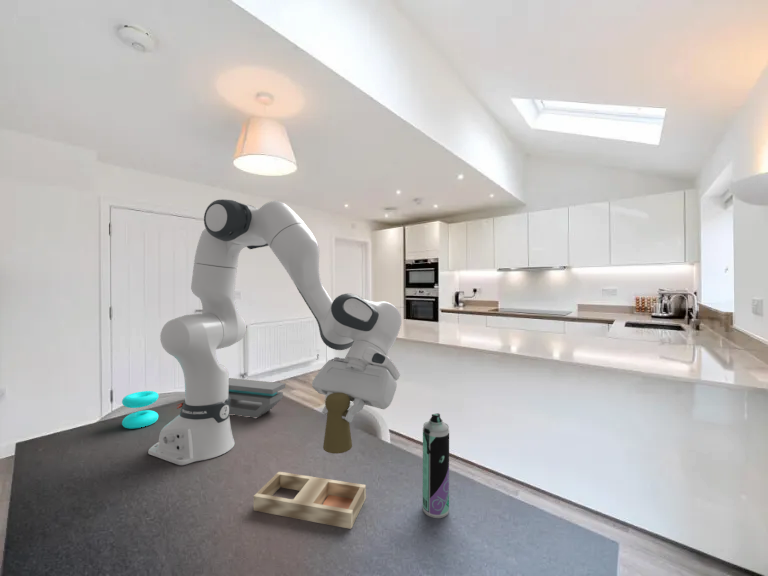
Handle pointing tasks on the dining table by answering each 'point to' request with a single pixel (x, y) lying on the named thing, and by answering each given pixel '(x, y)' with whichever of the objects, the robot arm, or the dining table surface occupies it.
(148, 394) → the donuts
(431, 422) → the spray can
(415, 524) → the dining table surface
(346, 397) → the olive round-headed peg
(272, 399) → the grey lidded container
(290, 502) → the socket rail
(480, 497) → the dining table surface
